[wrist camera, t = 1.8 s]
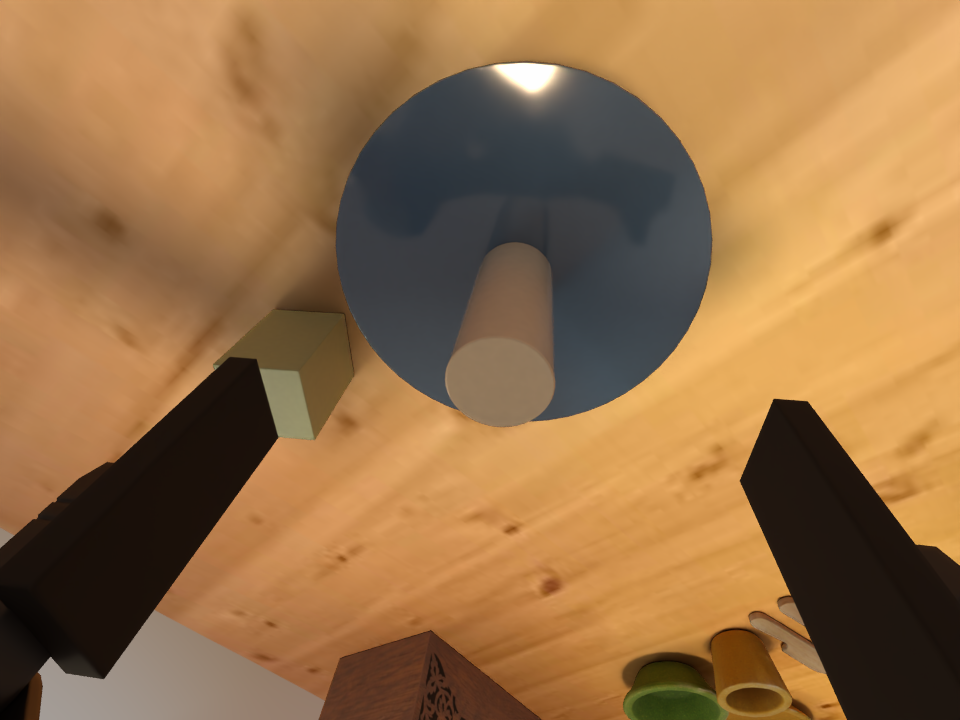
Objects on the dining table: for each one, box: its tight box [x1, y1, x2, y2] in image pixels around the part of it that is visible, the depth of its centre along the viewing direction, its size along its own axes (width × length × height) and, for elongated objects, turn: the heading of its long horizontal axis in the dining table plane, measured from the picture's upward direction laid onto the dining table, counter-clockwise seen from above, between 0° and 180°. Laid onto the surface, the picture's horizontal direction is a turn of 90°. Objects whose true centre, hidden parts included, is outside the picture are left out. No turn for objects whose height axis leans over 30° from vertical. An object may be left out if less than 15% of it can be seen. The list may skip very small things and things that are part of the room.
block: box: [213, 309, 354, 440], centre depth 31 cm, size 5×5×7 cm
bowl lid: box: [336, 61, 712, 427], centre depth 18 cm, size 16×16×9 cm
